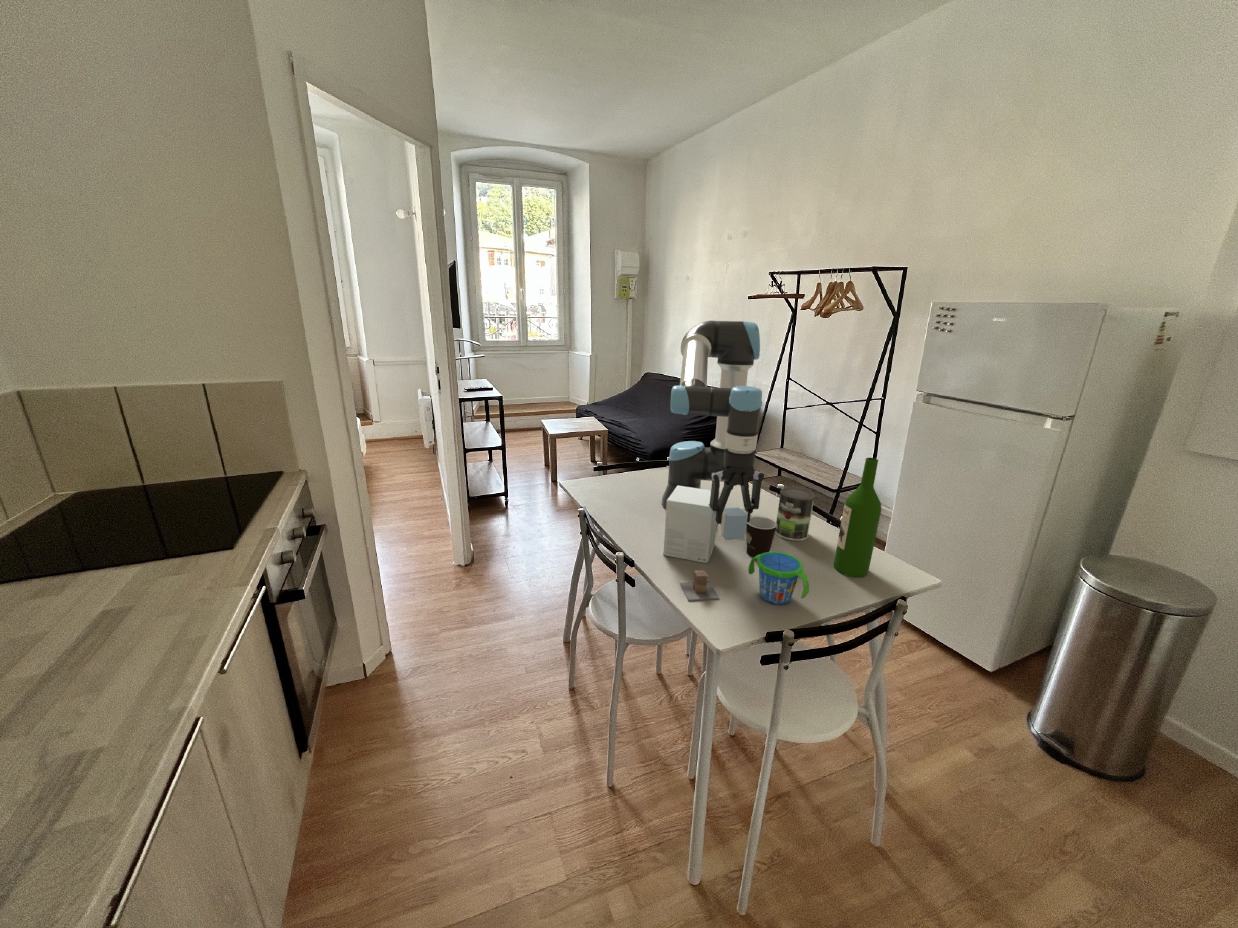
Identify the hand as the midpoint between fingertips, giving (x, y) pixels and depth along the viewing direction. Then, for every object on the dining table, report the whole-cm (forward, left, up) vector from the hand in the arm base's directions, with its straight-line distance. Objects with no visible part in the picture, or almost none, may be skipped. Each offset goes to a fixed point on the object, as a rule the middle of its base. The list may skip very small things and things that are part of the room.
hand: (731, 533), depth 130 cm
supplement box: (-15, -6, -13) cm, 20 cm away
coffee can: (-22, +30, -13) cm, 39 cm away
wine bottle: (+1, +36, -13) cm, 38 cm away
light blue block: (0, 0, 0) cm, 0 cm away
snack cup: (+12, +8, -13) cm, 19 cm away
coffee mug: (-12, +14, -13) cm, 22 cm away
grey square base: (+7, -10, -12) cm, 17 cm away
